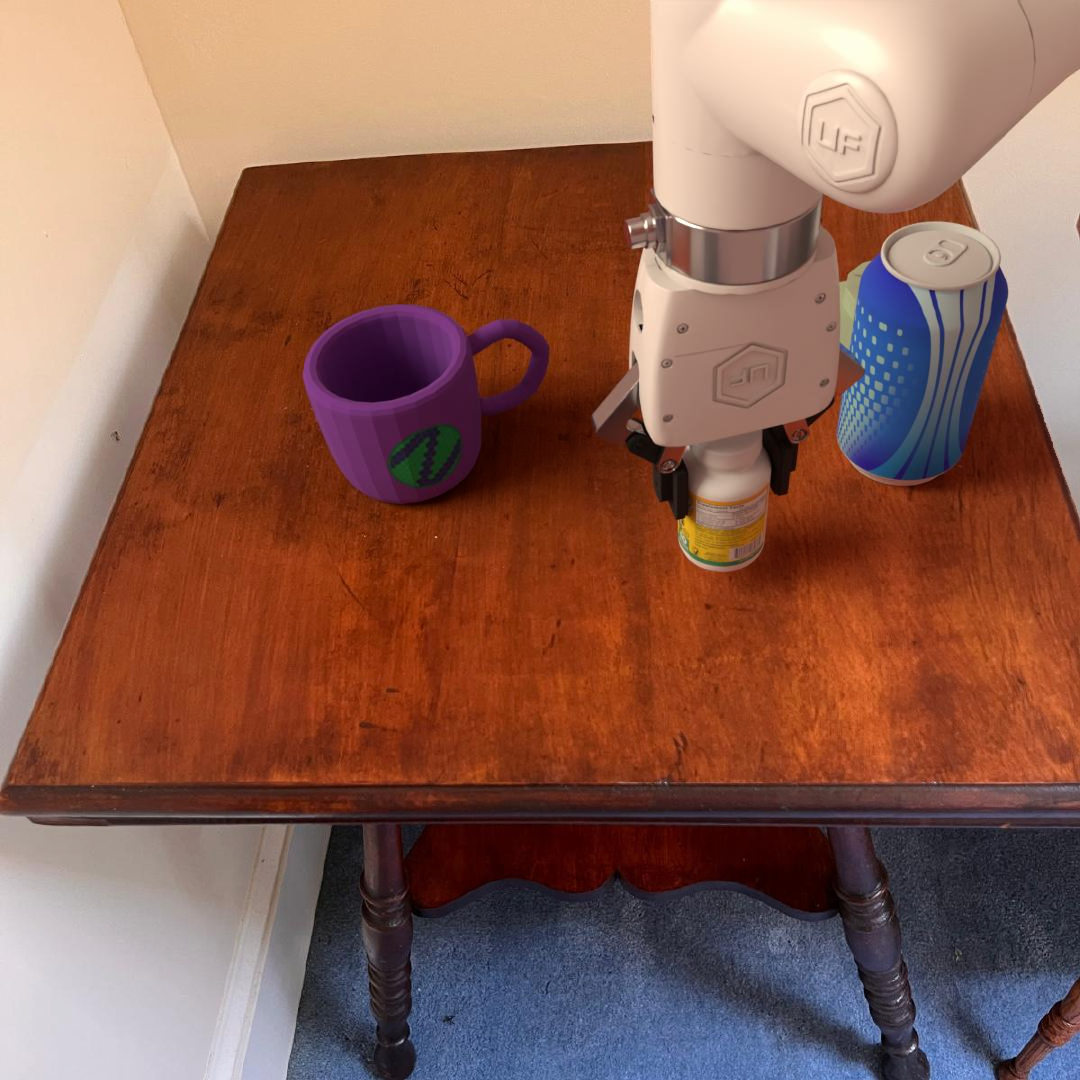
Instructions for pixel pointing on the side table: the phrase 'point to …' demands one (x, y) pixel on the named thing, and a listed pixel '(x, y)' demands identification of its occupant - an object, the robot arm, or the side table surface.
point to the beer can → (921, 351)
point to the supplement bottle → (726, 502)
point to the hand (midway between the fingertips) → (723, 488)
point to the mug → (409, 397)
